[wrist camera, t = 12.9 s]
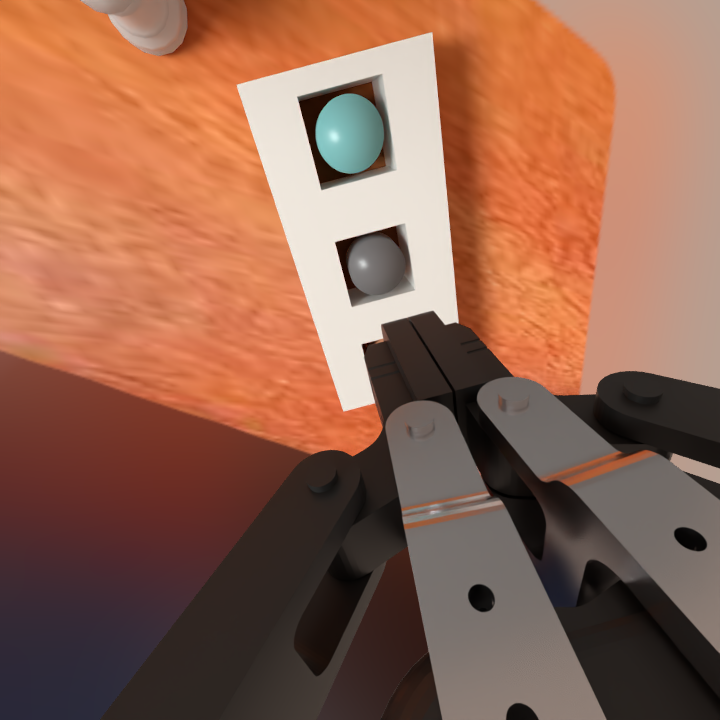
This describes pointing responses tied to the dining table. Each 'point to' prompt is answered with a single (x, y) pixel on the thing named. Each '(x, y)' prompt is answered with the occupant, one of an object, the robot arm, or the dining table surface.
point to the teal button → (349, 133)
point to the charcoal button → (375, 263)
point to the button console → (361, 198)
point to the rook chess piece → (147, 22)
